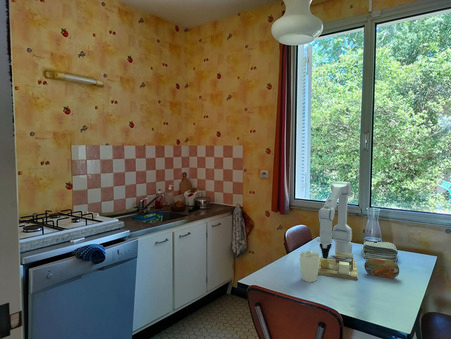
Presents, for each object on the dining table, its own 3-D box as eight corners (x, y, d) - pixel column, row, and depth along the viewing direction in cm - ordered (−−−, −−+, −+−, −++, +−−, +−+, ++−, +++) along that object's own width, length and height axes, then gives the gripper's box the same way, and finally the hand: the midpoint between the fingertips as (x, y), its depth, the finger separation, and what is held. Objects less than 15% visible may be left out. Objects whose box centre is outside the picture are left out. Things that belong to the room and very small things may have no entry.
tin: (364, 274, 151) (364, 257, 150) (364, 272, 153) (364, 255, 153) (399, 280, 144) (399, 262, 143) (398, 277, 146) (399, 260, 146)
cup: (308, 284, 138) (309, 258, 137) (295, 277, 146) (295, 252, 145) (323, 281, 142) (324, 255, 141) (309, 274, 150) (310, 250, 149)
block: (339, 269, 151) (339, 261, 151) (348, 270, 149) (349, 262, 149) (339, 272, 147) (339, 264, 147) (348, 273, 146) (349, 265, 145)
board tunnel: (319, 259, 171) (319, 246, 170) (356, 264, 164) (356, 250, 163) (315, 273, 150) (315, 258, 150) (357, 280, 143) (358, 264, 143)
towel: (398, 262, 167) (399, 248, 167) (361, 258, 175) (362, 244, 174) (395, 254, 181) (395, 241, 181) (361, 250, 189) (362, 238, 188)
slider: (320, 266, 155) (321, 259, 155) (350, 270, 150) (350, 263, 150) (319, 270, 150) (320, 263, 150) (350, 275, 145) (350, 267, 144)
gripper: (318, 227, 162) (318, 252, 163) (316, 234, 149) (315, 261, 150) (332, 229, 160) (332, 254, 161) (331, 236, 146) (330, 263, 147)
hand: (325, 258), depth 155 cm, fingers closed
